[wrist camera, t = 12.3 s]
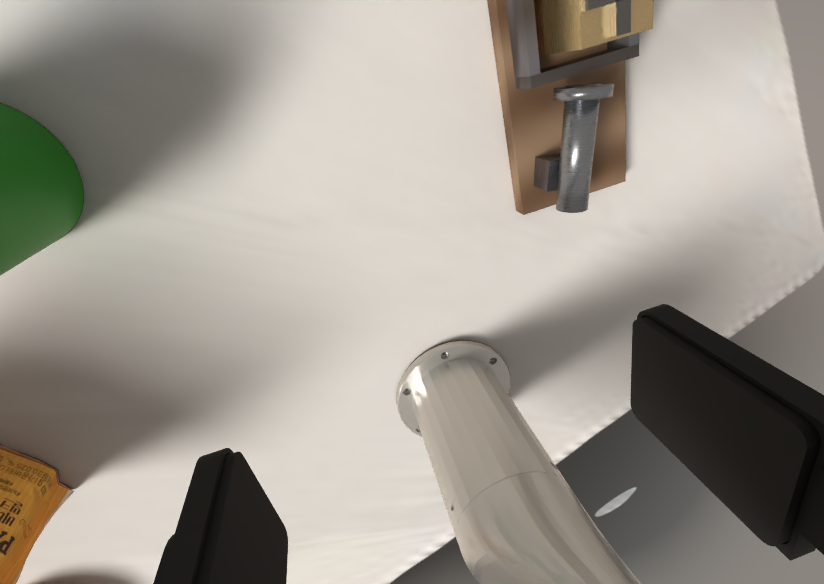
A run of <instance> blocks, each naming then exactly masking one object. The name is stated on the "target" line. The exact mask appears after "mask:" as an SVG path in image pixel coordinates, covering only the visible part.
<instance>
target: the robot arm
mask: <svg viewBox="0 0 824 584" xmlns="http://www.w3.org/2000/svg"><path fill="white" fill-rule="evenodd" d="M509 390H510V374H509V371H508V368H507V366H506V364H505V363H504V361H503V360H502V358H501V357H500V356H499V355H498V353H497V352H495V351H494V350H493V349H492V348H490V347H488V346H486V345H484V344H482V343H477V342H473V341H455V342H449V343H445V344H442V345H439V346H437V347H435V348H433V349H430V350H428V351H427V352H425V353H424V354H422V355H421V356H420V357H418V358H417V359H416V360H415V361H414V362H413V363H412V364H411V365H410V366H409V367H408V369H407V370H406V371H405V373H404V374H403V376H402V378H401V380H400V382H399V385H398V389H397V394H396V403H397V407H398V411H399V414H400V417H401V419H402V421H403V422H404V424H405V425H406V427H408V428H409V429H410V430H411V431H412V432H414V433H415V434H417V435H419V436H421V437H423V440H424V443H425V446H426V449H427V452H428V455H429V458H430V461H431V464H432V467H433V470H434V473H435V476H436V479H437V482H438V485H439V488H440V491H441V494H442V497H443V500H444V503H445V506H446V509H447V512H448V515H449V518H450V521H451V524H452V527H453V530H454V533H455V535H456V538H457V541H458V544H459V547H460V550H461V553H462V556H463V558H464V560H465V563H466V564H467V566H468V568H469V569H470V571H471V573H472V574H473V575H474V577H475V578H476V579H477V581H478V582H479V583H480V584H641V583H640V582H639V580H638V579H637V578H636V577H635V576H634V575H633V573H632V572H631V571H630V570H629V568H628V567H627V566H626V565H625V563H624V562H623V561H622V560H621V558H620V557H619V556H618V555H617V554H616V552H615V551H614V550H613V548H612V547H611V546H610V544H609V543H608V542H607V540H606V539H605V537H604V536H603V535H602V533H601V532H600V531H599V529H598V528H597V527H596V525H595V524H594V522H593V521H592V519H591V518H590V516H589V515H588V514H587V512H586V511H585V509H584V508H583V506H582V505H581V503H580V502H579V500H578V499H577V497H576V496H575V494H574V493H573V491H572V490H571V488H570V487H569V485H568V484H567V482H566V481H565V479H564V478H563V476H562V475H561V473H560V472H559V470H558V469H557V467H556V466H555V464H554V463H553V461H552V460H551V458H550V457H549V455H548V454H547V452H546V451H545V449H544V448H543V446H542V445H541V443H540V442H539V440H538V439H537V437H536V436H535V434H534V433H533V431H532V430H531V428H530V427H529V425H528V423H527V422H526V420H525V419H524V417H523V416H522V414H521V413H520V411H519V410H518V408H517V407H516V405H515V404H514V402H513V401H512V399H511V398H510V396H509V395H508V394H509ZM631 408H632V411H633V413H634V414H635V416H636V417H637V419H638V420H639V421H640V422H641V423H642V424H644V426H645V427H646V428H648V429H649V430H650V431H651V432H652V433H653V434H654V435H655V436H656V437H657V438H658V439H659V440H660V441H661V442H662V443H663V444H664V445H665V446H666V447H667V448H668V449H669V450H670V451H671V452H672V453H673V454H674V455H675V456H676V457H677V458H678V459H679V460H680V461H681V462H682V463H683V464H684V465H685V466H686V467H687V468H688V469H689V470H690V471H691V472H692V473H693V474H694V475H695V476H696V477H697V478H698V479H699V480H700V481H701V482H702V483H703V484H704V485H705V486H706V487H707V488H709V490H711V492H712V493H714V494H715V495H716V496H717V497H718V498H719V499H720V500H721V501H722V502H723V503H724V504H725V505H726V506H727V507H728V508H729V509H730V510H731V511H732V512H733V513H734V514H735V515H736V516H737V517H738V518H739V519H740V520H741V521H742V522H743V523H744V524H745V525H746V526H747V527H748V528H749V529H750V530H751V531H752V532H753V533H754V534H755V535H756V536H757V537H758V538H759V539H761V540H762V541H763V542H764V543H766V544H767V545H770V546H776V547H777V548H778V549H779V550H780V551H781V552H782V553H783V554H784V555H785V556H786V557H787V558H788V559H789V560H793V559H795V558H798V557H800V556H803V555H805V554H808V553H810V552H812V551H815V549H816V548H817V549H818V550H819V551H820V552H821V553H822V554H823V555H824V395H822V394H821V393H819V392H817V391H815V390H814V389H812V388H810V387H809V386H807V385H805V384H803V383H802V382H800V381H798V380H796V379H795V378H793V377H791V376H790V375H788V374H786V373H785V372H783V371H781V370H779V369H778V368H776V367H774V366H772V365H771V364H769V363H767V362H766V361H764V360H762V359H760V358H759V357H757V356H755V355H754V354H752V353H750V352H749V351H747V350H745V349H743V348H742V347H740V346H738V345H737V344H735V343H733V342H731V341H729V340H728V339H726V338H725V337H723V336H721V335H719V334H718V333H716V332H714V331H713V330H711V329H709V328H707V327H706V326H704V325H702V324H700V323H699V322H697V321H695V320H694V319H692V318H690V317H688V316H687V315H685V314H683V313H682V312H680V311H678V310H676V309H675V308H673V307H671V306H669V305H667V304H662V305H659V306H656V307H653V308H650V309H647V310H644V311H642V312H640V313H639V314H638V316H637V320H635V321H634V322H633V334H632V370H631ZM287 554H288V537H287V532H286V529H285V526H284V524H283V523H282V521H281V519H280V517H279V516H278V514H277V512H276V511H275V509H274V507H273V506H272V504H271V502H270V500H269V499H268V497H267V495H266V494H265V492H264V490H263V489H262V487H261V485H260V483H259V482H258V480H257V478H256V477H255V475H254V473H253V471H252V470H251V468H250V466H249V465H248V463H247V461H246V460H245V458H244V456H243V455H242V453H241V452H235V453H233V451H232V450H231V449H229V448H225V449H222V450H219V451H216V452H213V453H210V454H207V455H204V456H201V457H200V458H199V459H198V461H197V463H196V466H195V469H194V473H193V476H192V479H191V482H190V486H189V489H188V492H187V496H186V499H185V502H184V505H183V509H182V512H181V515H180V518H179V522H178V525H177V528H176V532H175V534H174V535H173V536H172V537H171V538H170V539H169V540H168V542H167V544H166V547H165V549H164V552H163V555H162V558H161V561H160V564H159V568H158V571H157V574H156V577H155V580H154V583H153V584H286V576H287Z"/></svg>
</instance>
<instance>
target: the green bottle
mask: <svg viewBox="0 0 824 584" xmlns="http://www.w3.org/2000/svg"><path fill="white" fill-rule="evenodd" d="M83 201H84V191H83V185H82V180H81V177H80V174H79V171H78V169H77V167H76V165H75V163H74V161H73V159H72V158H71V156H70V155H69V153H68V152H67V150H66V149H65V148H64V146H63V145H62V144H61V143H60V142H59V141H58V140H57V139H56V137H55V136H54V135H52V134H51V133H50V132H49V131H48V130H47V129H46V128H45V127H43V126H42V125H41V124H39V123H38V122H36V121H35V120H34V119H32V118H30V117H29V116H27V115H25V114H24V113H22V112H20V111H18V110H16V109H14V108H12V107H9V106H7V105H4V104H1V103H0V275H2V274H3V273H5V272H7V271H8V270H10V269H11V268H13V267H15V266H16V265H18V264H20V263H21V262H23V261H24V260H26V259H28V258H29V257H31V256H32V255H34V254H36V253H37V252H39V251H41V250H42V249H44V248H45V247H47V246H49V245H50V244H52V243H54V242H55V241H57V240H58V239H60V238H62V237H63V236H64V235H66V234H67V233H68V232H69V231H70V230H71V229H72V228H73V227H74V225H75V224H76V223H77V221H78V219H79V217H80V215H81V212H82V208H83Z"/></svg>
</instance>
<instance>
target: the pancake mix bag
mask: <svg viewBox="0 0 824 584" xmlns="http://www.w3.org/2000/svg"><path fill="white" fill-rule="evenodd" d="M73 492H74V491H73V490H71V489H70V488H68V487H66V486H65V485H63V484H61V483H60V482H59V478H58V471H57V470H56V469H54V468H53V467H51V466H49V465H47V464H46V463H44V462H42V461H40V460H37V459H35V458H32V457H29V456H27V455H24V454H22V453H19V452H17V451H14V450H12V449H9V448H7V447H4V446H2V445H0V584H16V582H17V581H18V579H19V576H20V574H21V571H22V569H23V566H24V564H25V561H26V559H27V557H28V555H29V553H30V551H31V549H32V547H33V545H34V543H35V541H36V540H37V538H38V537H39V535H40V534H41V532H42V531H43V529H44V527H45V526H46V525H47V523H48V522H49V520H50V519H51V517H52V516H53V515H54V513H55V512H56V511H57V510H58V508H59V507H60V506H61V505H62V504H63V503H64V502H65V501H66V499H67V498H68V497H69V496H70V495H71V494H72V493H73Z"/></svg>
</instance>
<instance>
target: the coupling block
mask: <svg viewBox="0 0 824 584" xmlns="http://www.w3.org/2000/svg"><path fill="white" fill-rule="evenodd" d="M534 8H535V19H536V30H537V41H538V52H539V56H541V55H548V54H555V53H562V52H568V51H575V50H582V49H585V48H589V47H592V46H595V45H599V44H602V43H606V42H609V41H612V40H616V39H619V38H622V37H626V36H629V35H632V34H636V33H639V32H643V31H646V30H649V29H653V0H534Z"/></svg>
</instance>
